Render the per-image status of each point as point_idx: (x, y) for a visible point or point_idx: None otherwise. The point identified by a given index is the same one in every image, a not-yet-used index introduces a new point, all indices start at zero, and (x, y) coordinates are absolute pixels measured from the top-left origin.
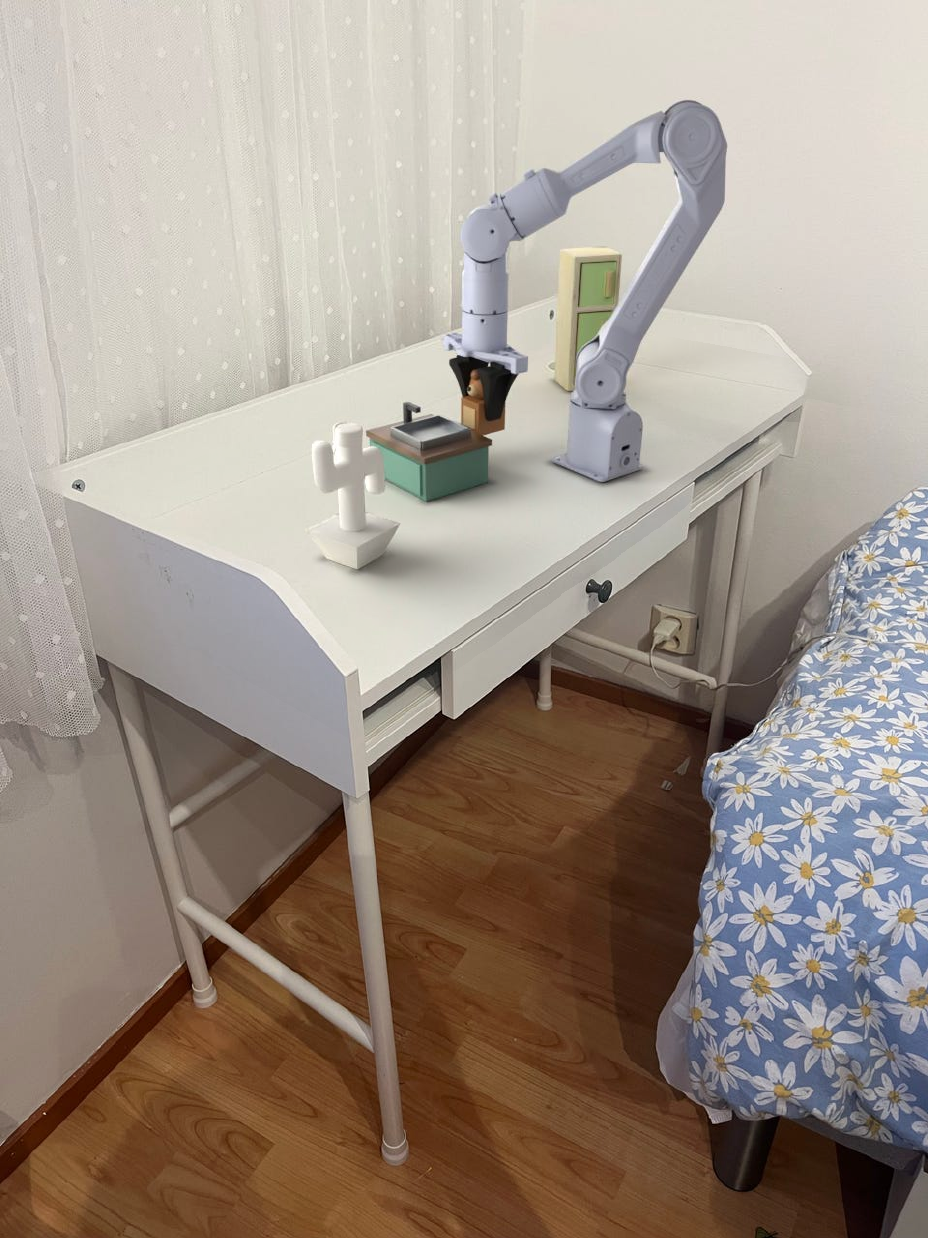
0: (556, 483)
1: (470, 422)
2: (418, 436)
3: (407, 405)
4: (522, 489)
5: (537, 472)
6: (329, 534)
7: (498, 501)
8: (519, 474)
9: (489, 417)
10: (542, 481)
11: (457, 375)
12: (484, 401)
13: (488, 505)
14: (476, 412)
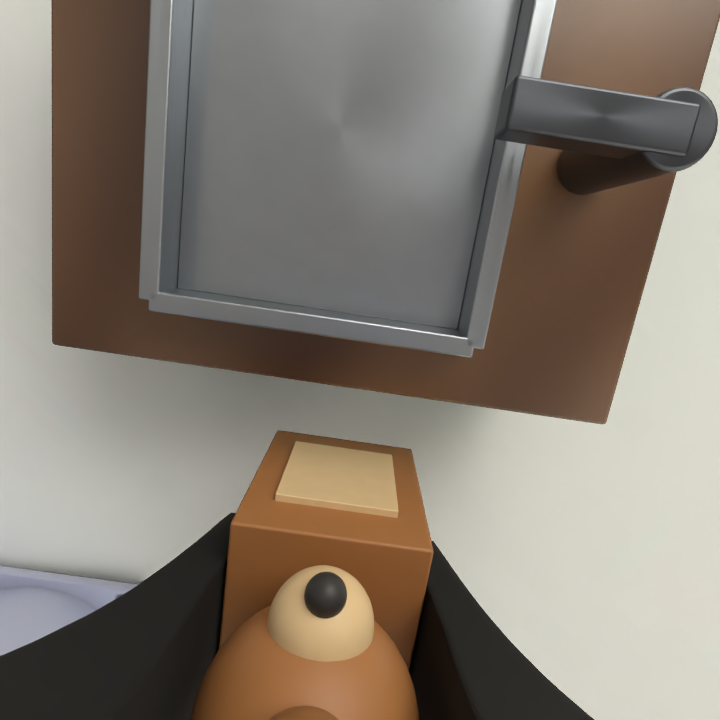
0: (10, 461)
1: (326, 457)
2: (372, 35)
3: (645, 97)
4: (43, 342)
5: (124, 492)
6: None
7: (12, 194)
8: (152, 438)
9: (218, 523)
10: (53, 443)
11: (549, 712)
12: (212, 571)
13: (6, 136)
14: (268, 491)
